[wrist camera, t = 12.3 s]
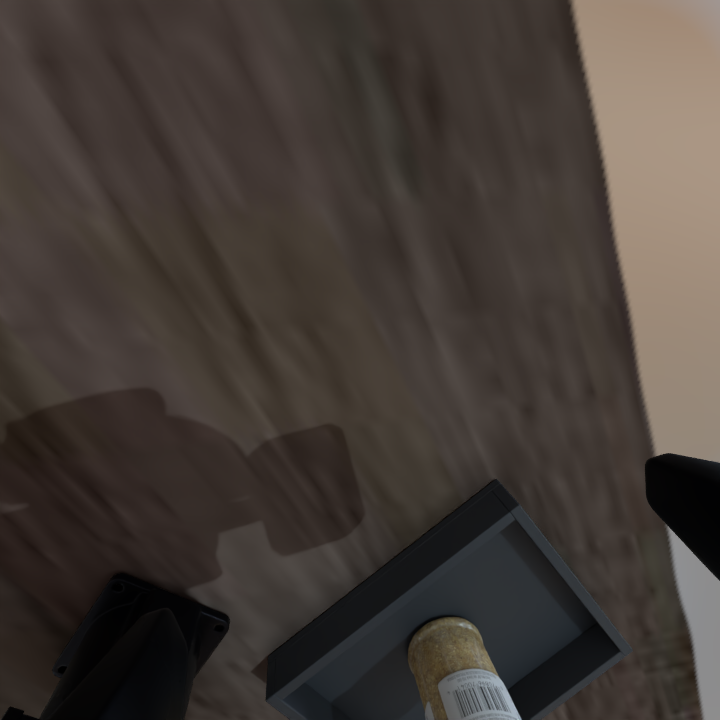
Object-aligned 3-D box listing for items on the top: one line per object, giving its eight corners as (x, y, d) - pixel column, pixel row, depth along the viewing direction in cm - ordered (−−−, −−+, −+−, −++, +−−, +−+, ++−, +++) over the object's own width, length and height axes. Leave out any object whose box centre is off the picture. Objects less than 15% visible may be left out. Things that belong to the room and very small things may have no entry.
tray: (403, 765, 27) (414, 814, 25) (267, 656, 24) (264, 701, 21) (603, 615, 27) (633, 650, 24) (496, 478, 23) (519, 504, 21)
